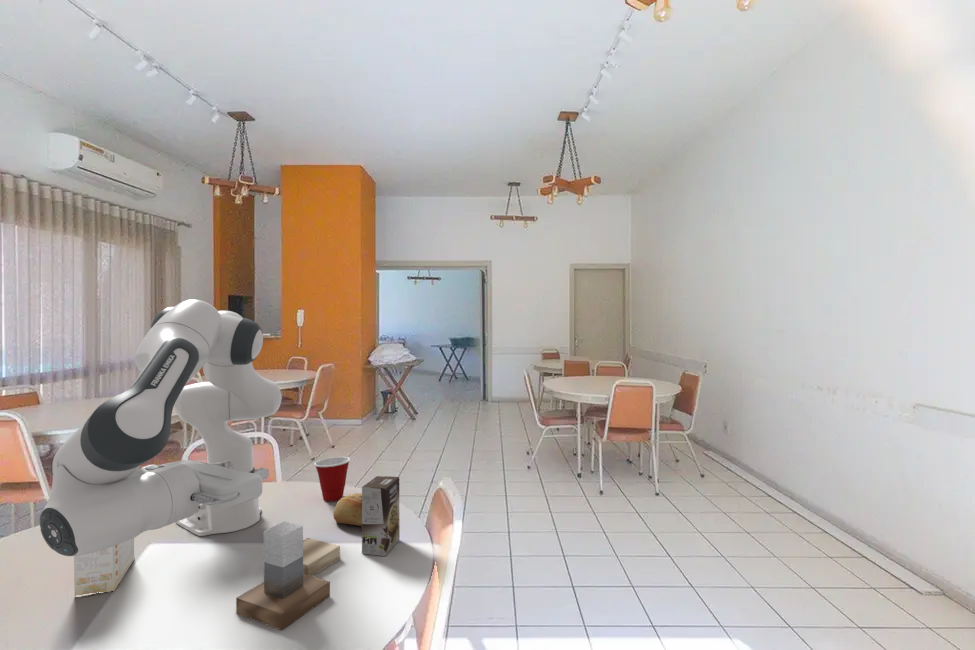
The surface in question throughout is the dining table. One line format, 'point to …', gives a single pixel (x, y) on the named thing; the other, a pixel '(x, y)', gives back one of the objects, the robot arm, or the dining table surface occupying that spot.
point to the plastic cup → (332, 477)
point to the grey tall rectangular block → (283, 559)
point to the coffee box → (380, 515)
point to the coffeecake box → (102, 568)
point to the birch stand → (318, 555)
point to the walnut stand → (282, 603)
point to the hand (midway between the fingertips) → (248, 468)
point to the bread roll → (349, 510)
